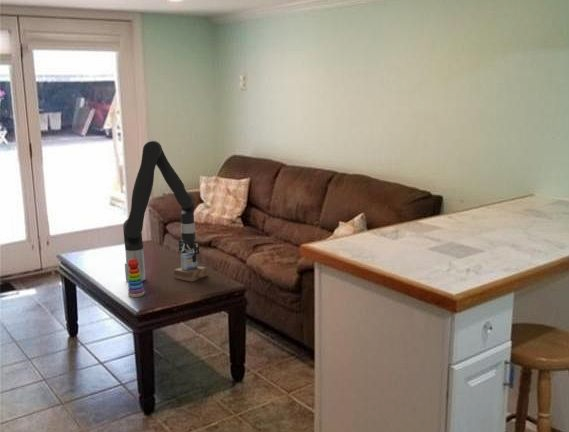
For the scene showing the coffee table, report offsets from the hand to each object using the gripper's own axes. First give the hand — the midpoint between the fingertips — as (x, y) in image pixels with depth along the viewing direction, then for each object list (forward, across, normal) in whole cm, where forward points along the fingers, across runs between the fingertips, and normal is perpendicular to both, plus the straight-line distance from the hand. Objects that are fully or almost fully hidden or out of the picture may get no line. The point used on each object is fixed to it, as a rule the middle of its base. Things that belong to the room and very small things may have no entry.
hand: (189, 260), depth 324 cm
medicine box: (+5, 0, 0) cm, 5 cm away
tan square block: (+10, 0, 0) cm, 10 cm away
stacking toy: (+9, +2, -36) cm, 37 cm away
